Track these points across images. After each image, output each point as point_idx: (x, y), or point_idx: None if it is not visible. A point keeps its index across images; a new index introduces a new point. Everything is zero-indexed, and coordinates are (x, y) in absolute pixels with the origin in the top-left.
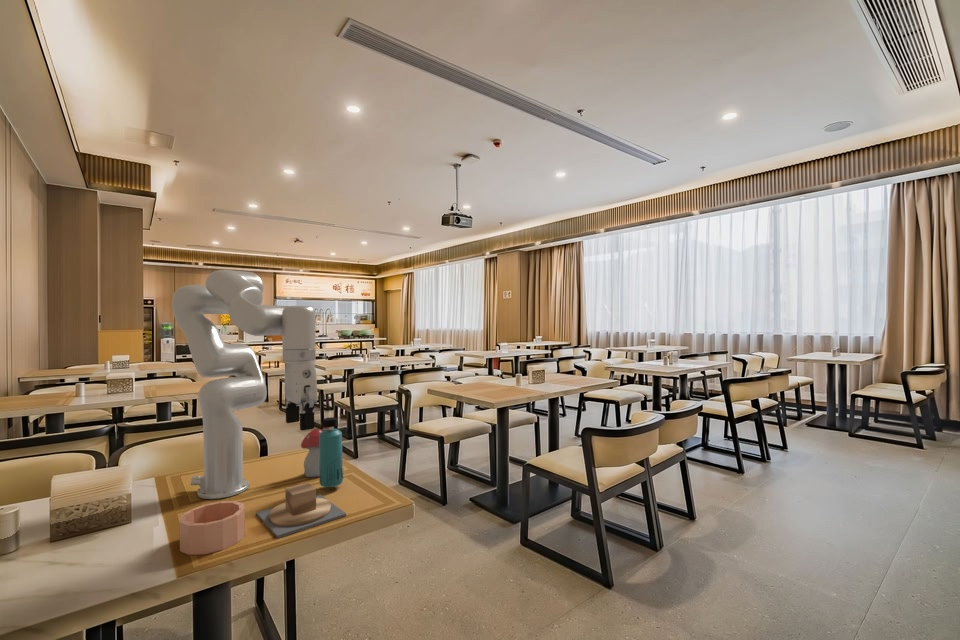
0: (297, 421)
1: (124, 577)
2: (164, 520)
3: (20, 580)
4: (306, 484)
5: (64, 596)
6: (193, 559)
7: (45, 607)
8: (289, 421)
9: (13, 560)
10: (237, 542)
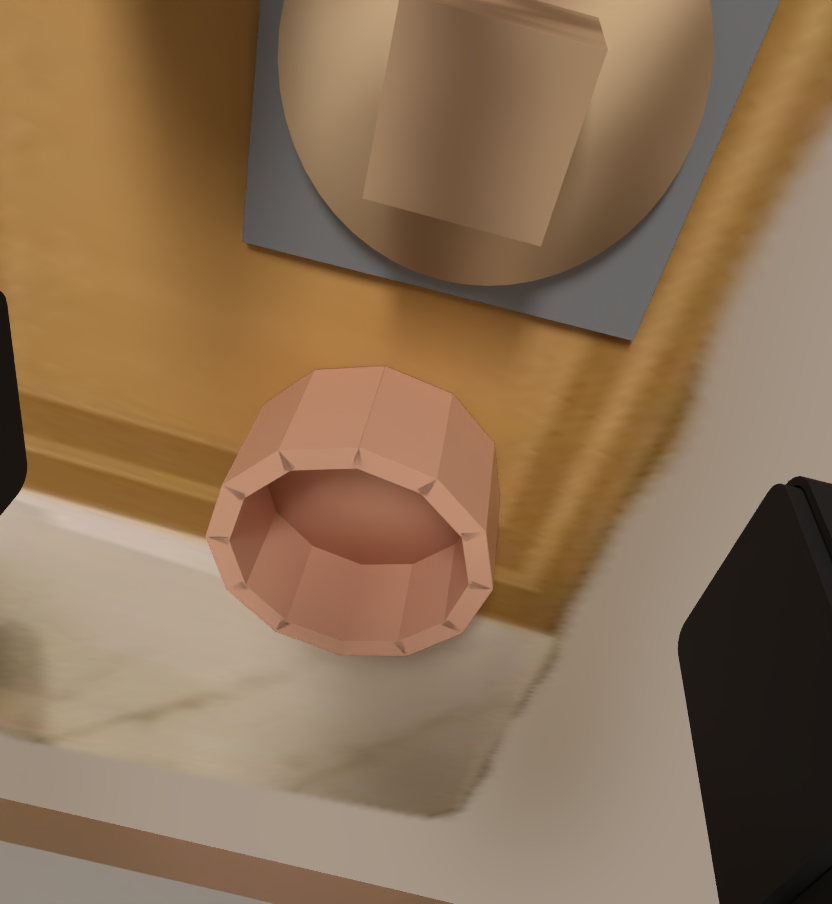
0: (5, 314)
1: (405, 684)
2: None
3: (200, 763)
4: (432, 32)
5: (383, 757)
6: None
7: (404, 781)
8: (14, 467)
9: (51, 741)
10: (493, 444)
